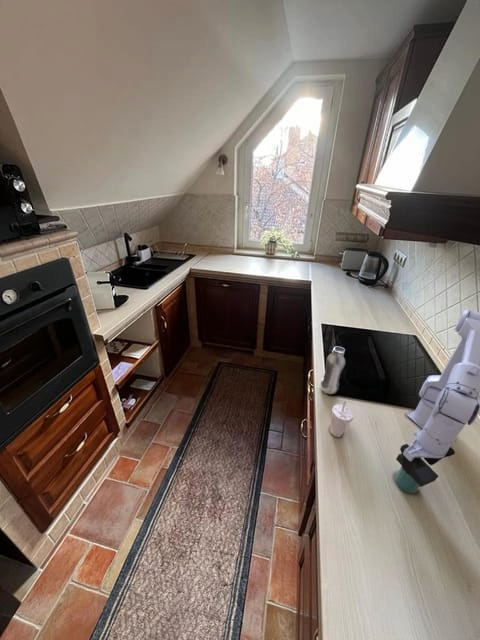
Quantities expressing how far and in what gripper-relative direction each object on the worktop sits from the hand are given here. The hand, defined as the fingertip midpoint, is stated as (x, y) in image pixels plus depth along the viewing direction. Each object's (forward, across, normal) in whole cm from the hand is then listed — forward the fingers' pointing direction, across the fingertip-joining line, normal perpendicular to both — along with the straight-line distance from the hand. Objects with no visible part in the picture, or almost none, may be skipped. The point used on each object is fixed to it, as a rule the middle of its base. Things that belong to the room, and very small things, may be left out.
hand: (417, 466), depth 66 cm
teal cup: (+8, 0, 0) cm, 8 cm away
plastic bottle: (+8, 0, -36) cm, 37 cm away
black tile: (+2, 0, 0) cm, 2 cm away
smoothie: (+8, +8, -19) cm, 23 cm away
